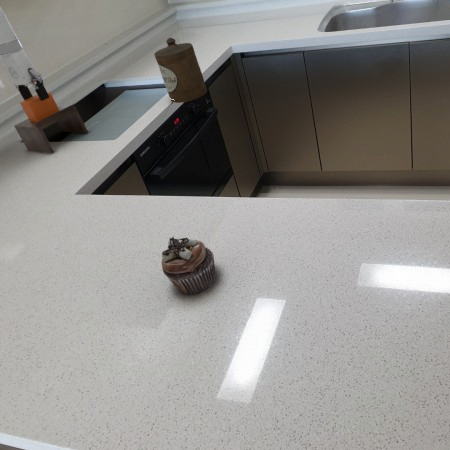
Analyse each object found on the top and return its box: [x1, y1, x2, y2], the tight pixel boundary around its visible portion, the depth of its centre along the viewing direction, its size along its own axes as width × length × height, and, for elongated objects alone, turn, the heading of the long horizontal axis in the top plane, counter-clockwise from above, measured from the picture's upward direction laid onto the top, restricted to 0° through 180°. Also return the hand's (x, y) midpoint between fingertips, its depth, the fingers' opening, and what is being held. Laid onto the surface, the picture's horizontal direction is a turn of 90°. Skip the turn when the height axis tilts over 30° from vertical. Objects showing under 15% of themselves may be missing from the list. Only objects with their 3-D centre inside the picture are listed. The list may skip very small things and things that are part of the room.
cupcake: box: [161, 236, 217, 296], centre depth 86 cm, size 10×10×10 cm
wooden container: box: [153, 37, 208, 104], centre depth 176 cm, size 15×15×22 cm
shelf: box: [13, 103, 89, 154], centre depth 164 cm, size 14×16×11 cm
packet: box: [19, 91, 60, 122], centre depth 159 cm, size 5×9×7 cm, turn 151°
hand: (36, 98), depth 158 cm, fingers open, 9 cm apart
